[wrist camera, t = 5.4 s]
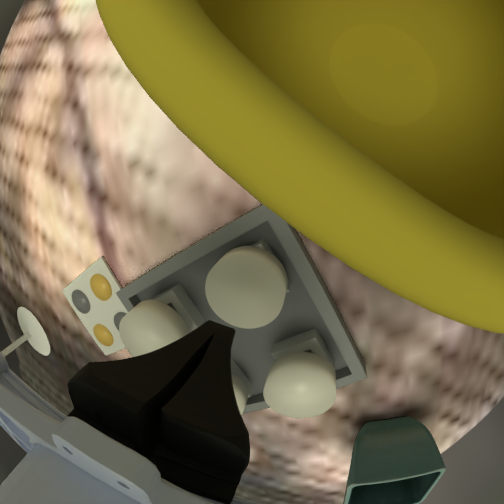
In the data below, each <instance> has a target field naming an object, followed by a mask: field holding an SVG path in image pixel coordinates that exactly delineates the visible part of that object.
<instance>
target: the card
mask: <svg viewBox="0 0 504 504" xmlns="http://www.w3.org/2000/svg"><path fill="white" fill-rule="evenodd" d="M120 289H122V286H121V285H120V283H119V282H118V280H117V278H116V277H115V275H114V274H113V272H112V270H111V269H110V267H109V265H108V264H107V262H106V260H105V258H104V257H103V256H102V257H101V258H100V259H98V260H97V261H96V262H95V263H94V264H92V265H91V266H90V267H89V268H88V269H86V270H85V271H84V272H83V273H82V274H81V275H79V276H78V277H77V278H76V279H75V280H74V281H72V282H71V283H70V284H69V285H68V286H67V287H66V288H65V289H63V290H62V291H63V293H64V294H65V296H66V298H67V299H68V301H69V303H70V304H71V306H72V308H73V309H74V311H75V312H76V314H77V315H78V317H79V318H80V320H81V321H82V323H83V324H84V326H85V327H86V329H87V330H88V332H89V333H90V335H91V336H92V338H93V339H94V340H95V342H96V343H97V345H98V346H99V347H100V349H101V350H102V351H103V353H104V354H105V355H109V354H111V353H114V352H116V351H119V350H122V349H124V348H126V347H125V346H124V344H123V342H122V340H121V337H120V333H119V325H120V321H121V319H122V318H123V317H124V316H125V315H126V314H127V313H128V311H127V310H126V308H125V307H124V305H123V304H122V302H121V301H120V299H119V298H118V296H117V294H116V292H118V291H119V290H120Z"/></svg>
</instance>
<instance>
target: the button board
mask: <svg viewBox="0 0 504 504" xmlns="http://www.w3.org/2000/svg"><path fill="white" fill-rule="evenodd" d="M240 246H256V247H260V248H262V249H265V250H267V251H269V252H270V253H272V254H273V255H274V256H275V257H276V258H277V259H278V260H279V261H280V262H281V264H282V265H283V267H284V269H285V271H286V274H287V280H288V285H287V291H286V295H285V299H284V303H283V307H282V309H281V311H280V313H279V315H278V316H277V317H276V318H275V319H274V320H273V321H272V322H270V323H269V324H267V325H265V326H262V327H259V328H253V329H246V328H239V327H236V326H233V325H230V324H229V323H227V322H225V321H224V320H222V319H221V318H220V317H218V316H217V315H216V313H215V312H214V311H213V310H212V308H211V307H210V305H209V303H208V301H207V297H206V293H205V283H206V278H207V276H208V273H209V272H210V270H211V269H212V268H213V266H214V265H215V264H216V263H217V262H218V261H219V260H220V259H221V258H222V257H223V256H224V255H225V254H226V253H227V252H229V251H230V250H232V249H234V248H237V247H240ZM116 294H117V296H118V298H119V299H120V301H121V302H122V304H123V305H124V307H125V308H126V310H127V311H128V312H129V311H131V310H132V309H133V308H134V307H135V306H136V305H137V304H139V303H140V302H142V301H145V300H157V301H160V302H163V303H165V304H167V305H168V306H170V307H171V308H173V309H174V310H175V311H176V312H177V313H178V314H179V315H180V316H181V318H182V319H183V321H184V322H185V324H186V326H187V329H188V333H190V332H192V331H193V330H195V329H196V328H198V327H199V326H201V325H202V324H203V323H205V322H206V321H208V320H211V321H214V322H216V323H219V324H222V325H225V326H228V327H231V328H234V329H235V331H236V332H235V336H234V340H233V343H232V347H231V374H233V375H235V376H237V377H238V378H239V379H240V380H241V381H242V382H243V383H244V384H245V385H246V387H247V389H248V399H247V402H246V405H245V408H244V411H243V413H247V412H252V411H257V410H261V409H266V408H270V407H269V406H268V405H267V403H266V401H265V399H264V396H263V390H264V387H265V383H266V379H267V375H268V372H269V368H270V367H271V365H272V364H273V362H274V361H275V360H277V359H278V358H279V357H281V356H283V355H286V354H289V353H293V352H310V353H314V354H317V355H320V356H322V357H323V358H325V359H326V360H328V361H329V362H330V363H331V364H332V366H333V367H334V370H335V373H336V389H337V388H340V387H343V386H346V385H349V384H351V383H354V382H357V381H360V380H362V379H365V378H367V372H366V366H365V364H364V361H363V359H362V357H361V355H360V353H359V351H358V349H357V347H356V345H355V343H354V340H353V338H352V336H351V334H350V332H349V330H348V328H347V326H346V324H345V322H344V320H343V318H342V316H341V314H340V312H339V310H338V308H337V306H336V304H335V302H334V300H333V298H332V296H331V295H330V293H329V291H328V289H327V287H326V285H325V283H324V281H323V279H322V277H321V275H320V273H319V272H318V270H317V268H316V266H315V264H314V262H313V260H312V258H311V257H310V255H309V253H308V251H307V249H306V247H305V246H304V244H303V242H302V240H301V238H300V236H299V235H298V233H297V231H296V229H295V228H294V227H292V226H291V225H290V224H288V223H287V222H286V221H285V220H283V219H282V218H281V217H279V216H278V215H277V214H275V213H274V212H273V211H271V210H270V209H269V208H267V207H266V206H265V205H263V204H262V205H260V206H258V207H256V208H255V209H253V210H251V211H249V212H248V213H246V214H244V215H242V216H241V217H239V218H237V219H235V220H234V221H232V222H230V223H228V224H227V225H225V226H223V227H221V228H220V229H218V230H216V231H215V232H213V233H211V234H210V235H208V236H206V237H204V238H203V239H201V240H199V241H198V242H196V243H194V244H193V245H191V246H189V247H188V248H186V249H184V250H183V251H181V252H179V253H178V254H176V255H174V256H173V257H171V258H169V259H168V260H166V261H165V262H163V263H161V264H160V265H158V266H156V267H155V268H153V269H152V270H150V271H148V272H147V273H145V274H143V275H142V276H140V277H139V278H137V279H136V280H134V281H132V282H131V283H129V284H128V285H126V286H125V287H123V288H122V289H120V290H119V291H118V292H116Z"/></svg>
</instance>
